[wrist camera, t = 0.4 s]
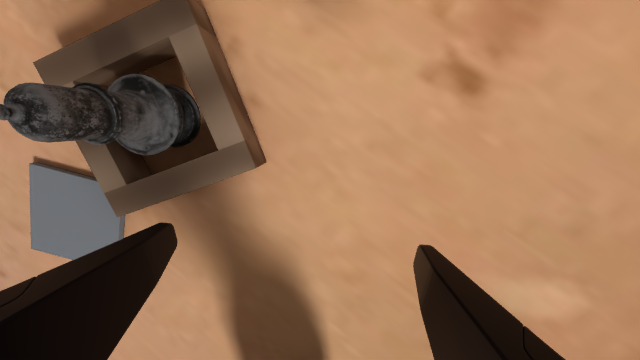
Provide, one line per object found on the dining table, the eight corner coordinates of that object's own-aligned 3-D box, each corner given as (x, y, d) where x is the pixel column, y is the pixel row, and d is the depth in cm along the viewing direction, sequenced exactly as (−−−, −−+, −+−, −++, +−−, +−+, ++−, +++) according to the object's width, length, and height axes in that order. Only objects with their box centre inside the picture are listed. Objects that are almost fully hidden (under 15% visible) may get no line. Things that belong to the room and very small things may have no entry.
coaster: (121, 268, 26) (116, 271, 26) (37, 245, 26) (31, 248, 26) (127, 186, 24) (121, 188, 24) (36, 162, 24) (29, 163, 24)
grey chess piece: (167, 162, 23) (-4, 203, 12) (126, 105, 23) (-104, 89, 11) (217, 127, 22) (83, 134, 11) (175, 66, 21) (-19, 2, 10)
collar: (266, 162, 23) (255, 168, 20) (143, 206, 25) (117, 217, 22) (204, 8, 20) (182, -11, 17) (73, 70, 22) (33, 62, 19)
